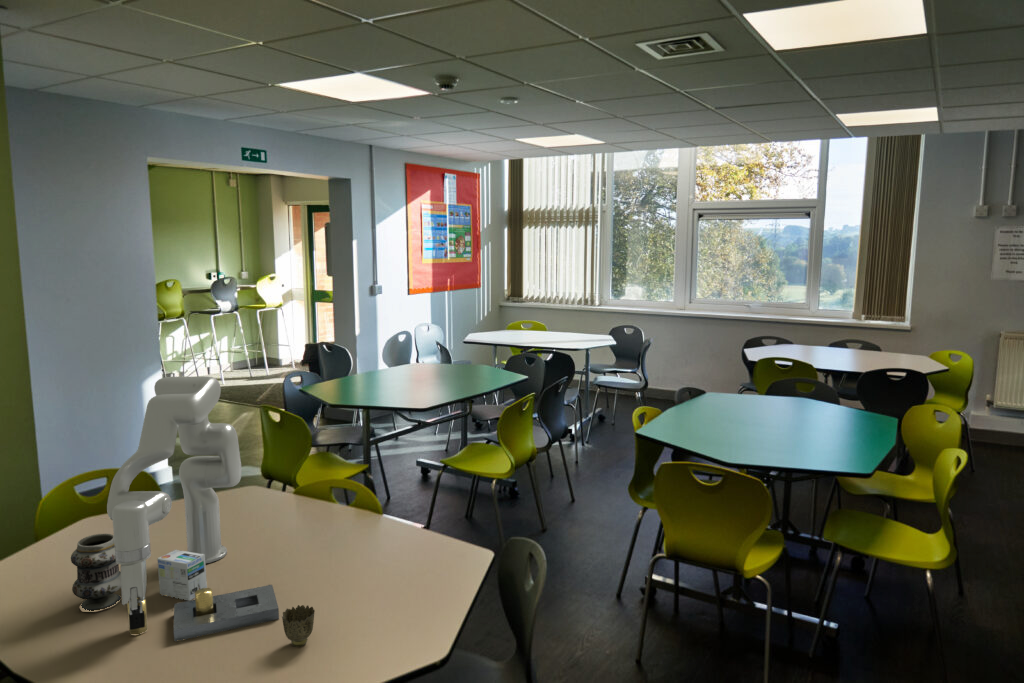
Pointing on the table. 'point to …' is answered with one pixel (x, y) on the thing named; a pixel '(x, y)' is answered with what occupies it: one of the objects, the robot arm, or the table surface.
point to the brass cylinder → (140, 630)
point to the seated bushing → (204, 602)
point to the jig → (226, 612)
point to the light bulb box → (181, 574)
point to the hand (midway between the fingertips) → (138, 622)
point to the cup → (298, 624)
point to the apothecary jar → (96, 572)
